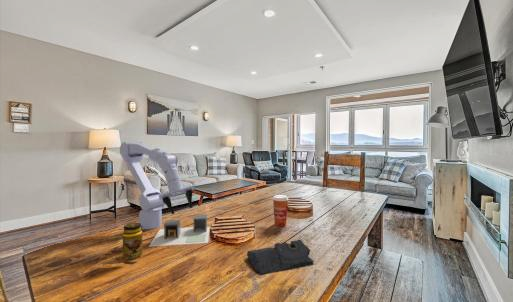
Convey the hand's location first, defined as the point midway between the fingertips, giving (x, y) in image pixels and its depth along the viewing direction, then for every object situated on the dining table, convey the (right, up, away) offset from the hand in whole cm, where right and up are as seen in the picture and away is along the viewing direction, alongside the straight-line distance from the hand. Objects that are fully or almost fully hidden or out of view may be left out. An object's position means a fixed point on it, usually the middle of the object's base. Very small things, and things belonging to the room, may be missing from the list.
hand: (182, 211), depth 100 cm
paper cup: (+43, -11, +15) cm, 47 cm away
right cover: (+6, -10, +6) cm, 13 cm away
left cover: (-4, -10, -2) cm, 11 cm away
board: (0, -11, -1) cm, 11 cm away
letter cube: (-4, -10, -2) cm, 11 cm away
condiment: (-12, -12, -18) cm, 25 cm away
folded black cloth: (+40, -13, -18) cm, 45 cm away
